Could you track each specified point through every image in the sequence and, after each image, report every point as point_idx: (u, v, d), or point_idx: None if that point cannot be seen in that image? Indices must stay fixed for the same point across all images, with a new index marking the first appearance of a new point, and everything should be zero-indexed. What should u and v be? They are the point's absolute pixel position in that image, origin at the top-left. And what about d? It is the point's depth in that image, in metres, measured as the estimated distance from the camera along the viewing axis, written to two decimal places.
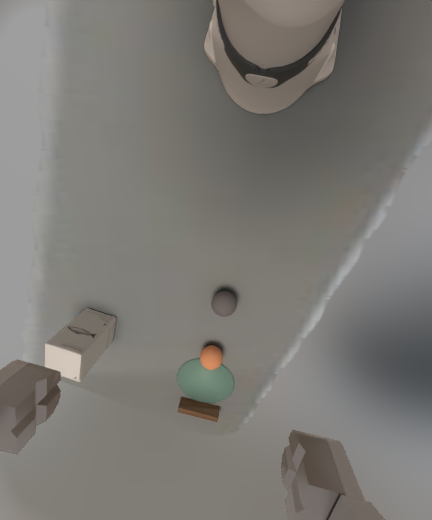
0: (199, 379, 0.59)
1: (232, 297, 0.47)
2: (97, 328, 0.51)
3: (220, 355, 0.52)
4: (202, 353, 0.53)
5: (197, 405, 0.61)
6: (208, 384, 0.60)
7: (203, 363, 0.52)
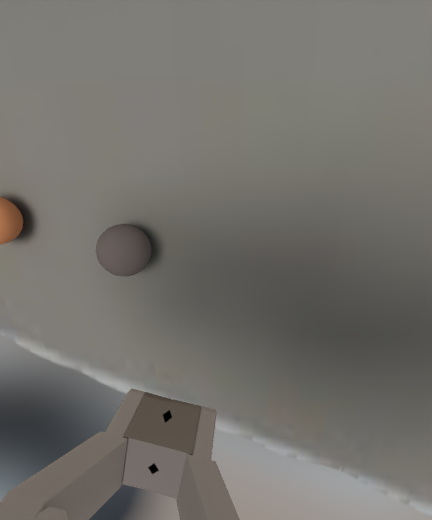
0: None
1: (141, 268, 0.23)
2: None
3: (2, 241, 0.24)
4: None
5: None
6: None
7: None
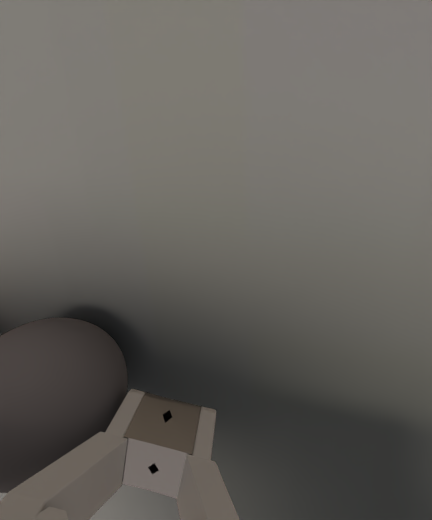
0: None
1: None
2: None
3: None
4: None
5: None
6: None
7: None
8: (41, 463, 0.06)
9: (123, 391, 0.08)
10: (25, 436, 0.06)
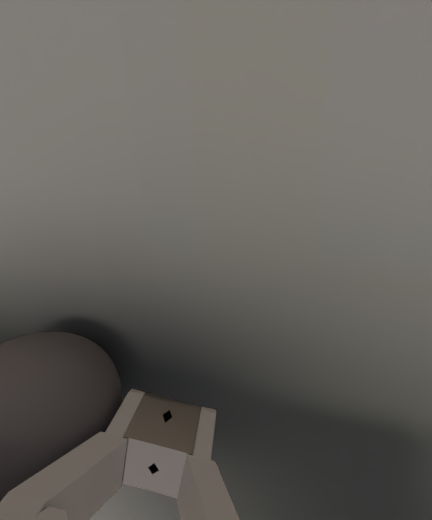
0: None
1: None
2: None
3: None
4: None
5: None
6: None
7: None
8: None
9: None
10: None
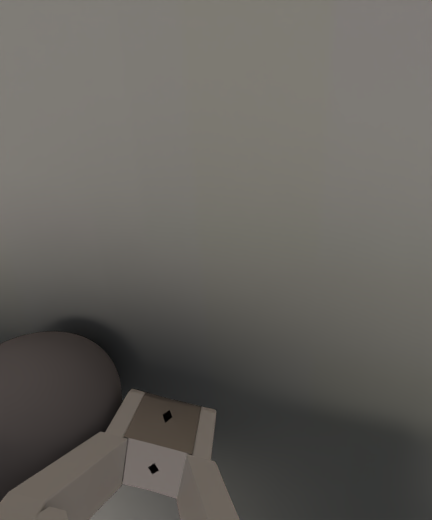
0: None
1: None
2: None
3: None
4: None
5: None
6: None
7: None
8: None
9: None
10: None
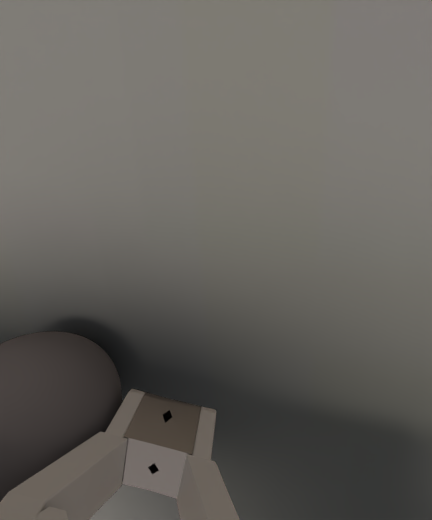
0: None
1: None
2: None
3: None
4: None
5: None
6: None
7: None
8: None
9: None
10: None
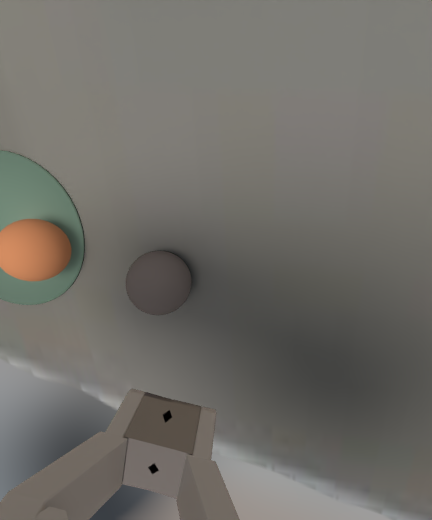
0: (12, 218, 0.22)
1: None
2: None
3: None
4: (12, 223, 0.19)
5: None
6: None
7: None
8: (137, 291, 0.17)
9: (175, 291, 0.17)
10: (136, 278, 0.17)
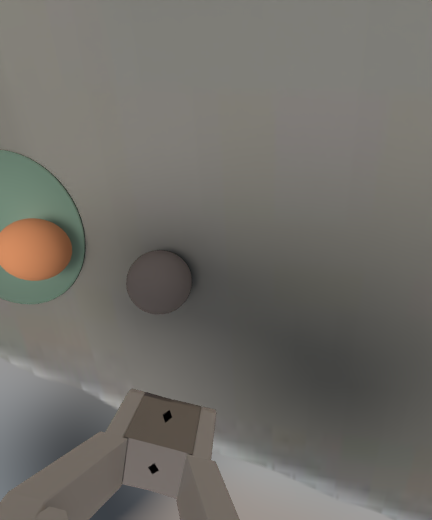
0: (13, 217, 0.22)
1: None
2: None
3: None
4: (13, 222, 0.19)
5: None
6: None
7: None
8: (138, 290, 0.17)
9: (175, 290, 0.17)
10: (137, 277, 0.17)
